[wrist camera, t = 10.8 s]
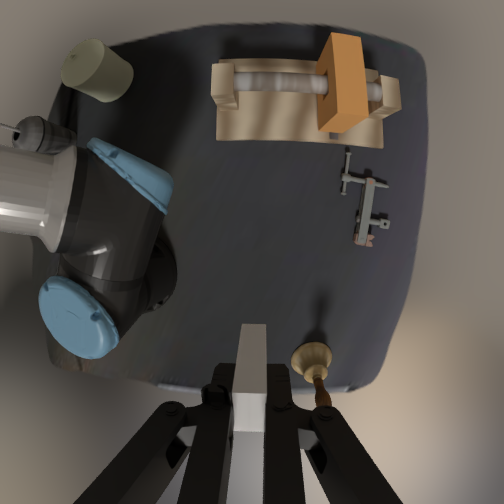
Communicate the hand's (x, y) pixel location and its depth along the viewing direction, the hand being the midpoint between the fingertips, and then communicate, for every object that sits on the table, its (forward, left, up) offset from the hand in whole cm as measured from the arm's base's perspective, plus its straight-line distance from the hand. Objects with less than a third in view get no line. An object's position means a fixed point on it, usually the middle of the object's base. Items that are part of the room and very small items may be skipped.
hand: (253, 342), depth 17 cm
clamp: (+18, +8, -31) cm, 37 cm away
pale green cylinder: (-28, +32, -31) cm, 52 cm away
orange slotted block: (+11, +25, -28) cm, 39 cm away
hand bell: (+11, -23, -31) cm, 40 cm away
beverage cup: (-38, +21, -31) cm, 53 cm away
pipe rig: (+7, +25, -30) cm, 40 cm away
